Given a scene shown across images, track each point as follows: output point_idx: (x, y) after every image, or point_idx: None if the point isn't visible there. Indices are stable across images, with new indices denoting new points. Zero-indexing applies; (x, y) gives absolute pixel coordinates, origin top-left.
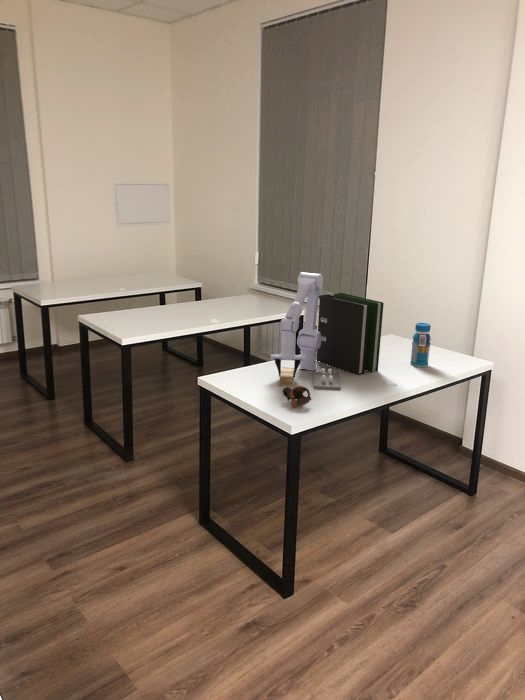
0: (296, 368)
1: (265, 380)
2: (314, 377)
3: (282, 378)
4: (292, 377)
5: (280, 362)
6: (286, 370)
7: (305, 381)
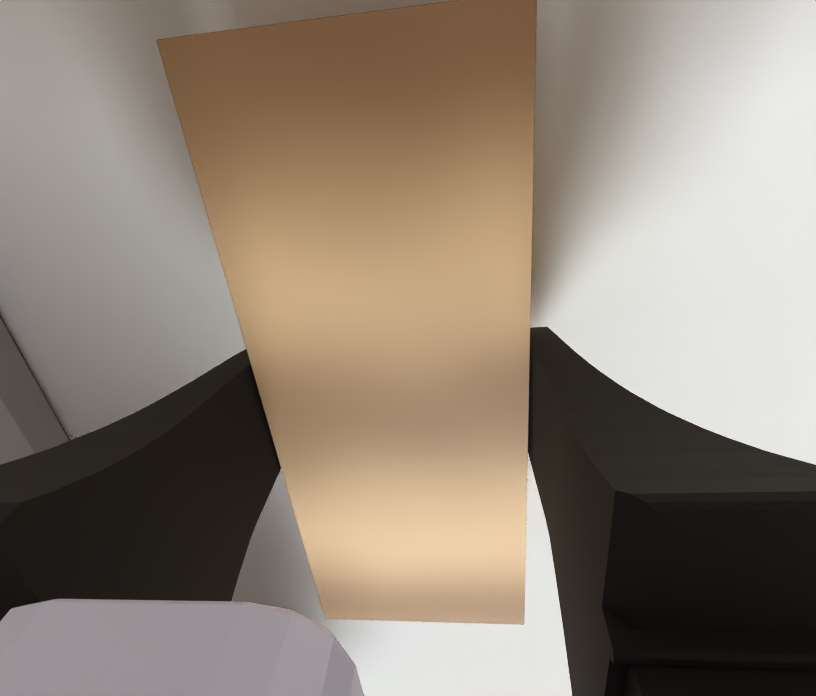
0: (117, 430)
1: (805, 223)
2: (4, 421)
3: (453, 5)
4: (179, 67)
5: (614, 542)
6: (424, 504)
7: (120, 324)
